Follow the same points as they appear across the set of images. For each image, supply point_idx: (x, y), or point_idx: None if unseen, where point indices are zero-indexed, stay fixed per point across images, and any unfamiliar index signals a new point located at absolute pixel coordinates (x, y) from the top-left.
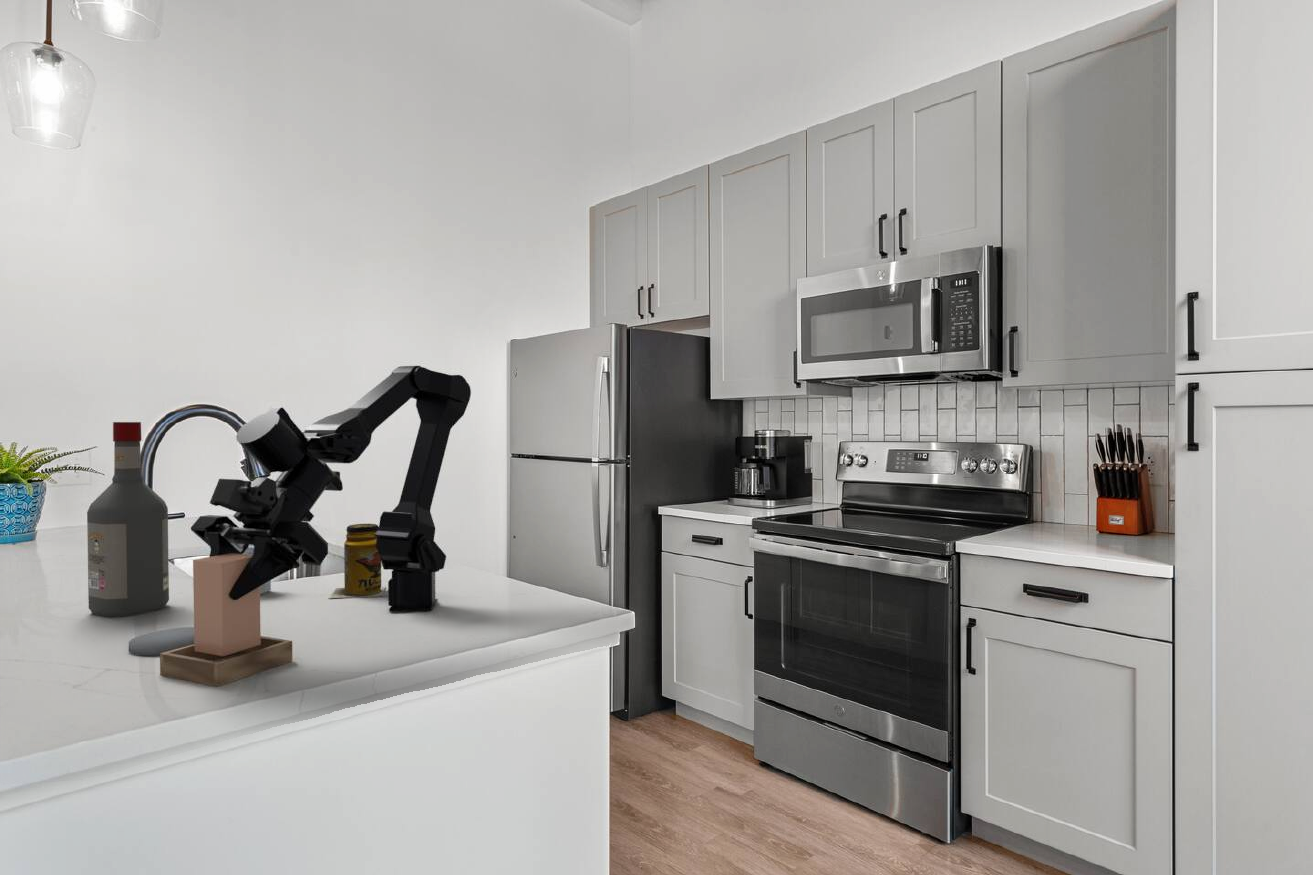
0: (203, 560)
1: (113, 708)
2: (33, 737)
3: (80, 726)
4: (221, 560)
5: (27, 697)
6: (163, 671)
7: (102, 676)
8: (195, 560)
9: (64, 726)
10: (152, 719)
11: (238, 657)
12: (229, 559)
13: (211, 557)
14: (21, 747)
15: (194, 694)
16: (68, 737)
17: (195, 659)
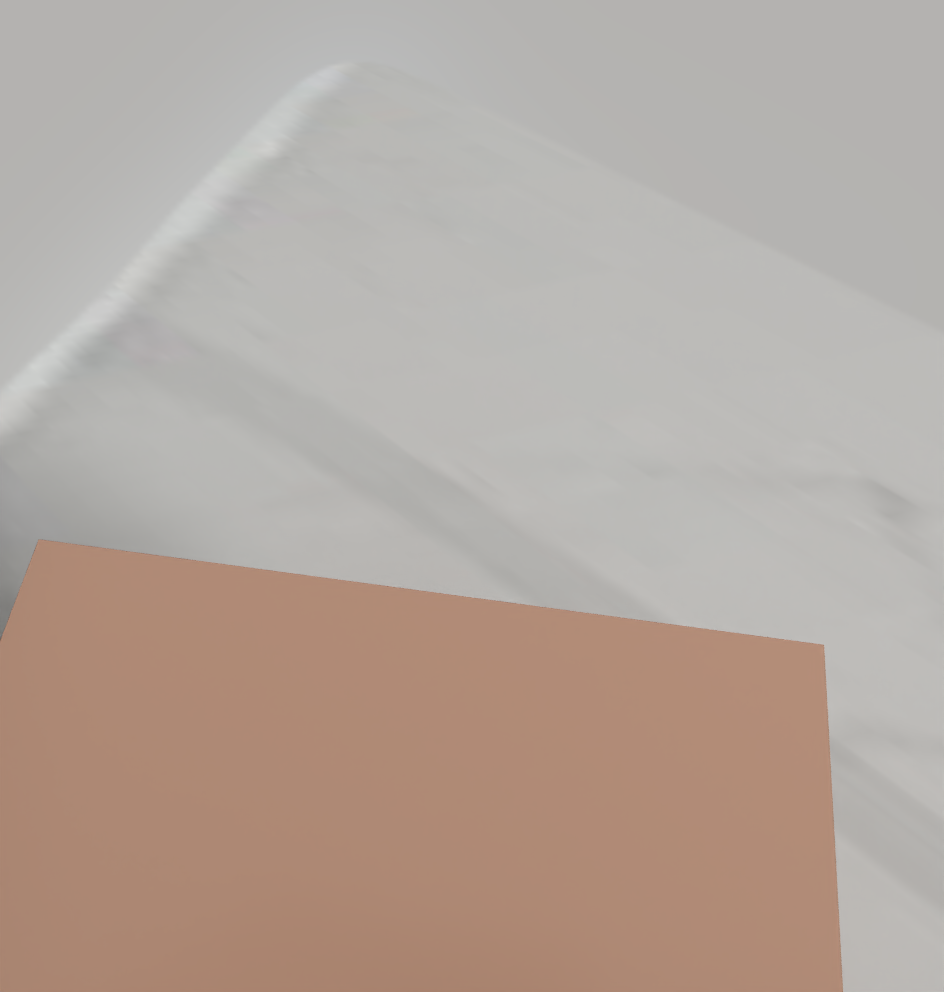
0: (568, 639)
1: (453, 357)
2: (463, 142)
3: (402, 223)
4: (220, 736)
5: (916, 361)
6: None
7: (939, 634)
8: (752, 639)
9: (457, 212)
10: (196, 315)
11: None
12: (124, 875)
13: (732, 980)
14: (420, 95)
15: (246, 556)
16: (351, 162)
17: None
